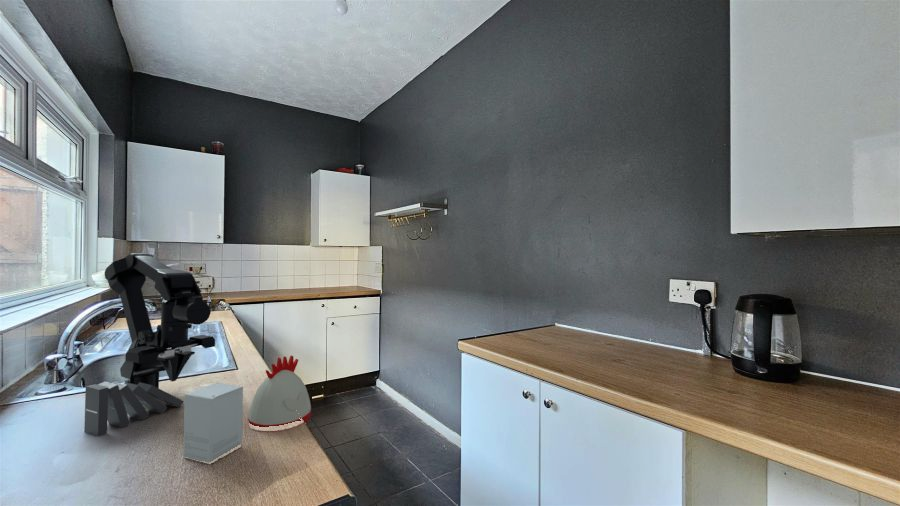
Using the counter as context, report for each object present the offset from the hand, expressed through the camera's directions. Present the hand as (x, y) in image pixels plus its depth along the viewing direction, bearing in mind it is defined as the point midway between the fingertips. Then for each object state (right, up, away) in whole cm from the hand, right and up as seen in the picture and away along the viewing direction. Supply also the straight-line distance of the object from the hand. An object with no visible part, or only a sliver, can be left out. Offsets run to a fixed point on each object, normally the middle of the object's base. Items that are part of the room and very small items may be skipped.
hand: (173, 380), depth 95 cm
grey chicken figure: (+30, -8, -6) cm, 32 cm away
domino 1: (-6, -6, -15) cm, 17 cm away
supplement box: (+24, -7, -22) cm, 33 cm away
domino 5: (0, -6, +1) cm, 6 cm away
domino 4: (-1, -6, -3) cm, 7 cm away
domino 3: (-3, -6, -7) cm, 10 cm away
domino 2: (-4, -6, -11) cm, 13 cm away
